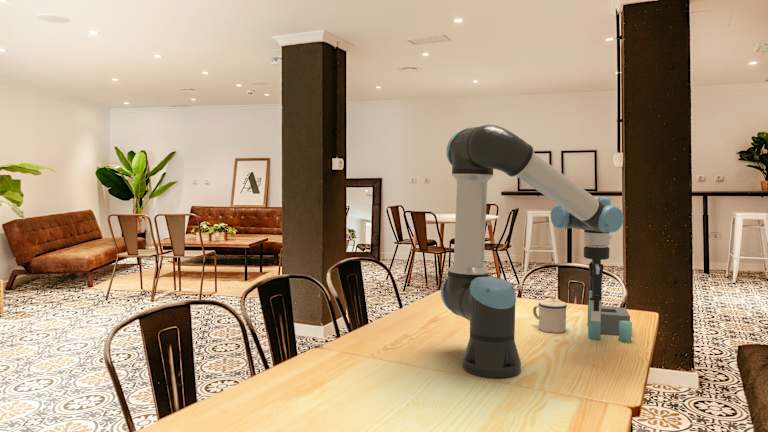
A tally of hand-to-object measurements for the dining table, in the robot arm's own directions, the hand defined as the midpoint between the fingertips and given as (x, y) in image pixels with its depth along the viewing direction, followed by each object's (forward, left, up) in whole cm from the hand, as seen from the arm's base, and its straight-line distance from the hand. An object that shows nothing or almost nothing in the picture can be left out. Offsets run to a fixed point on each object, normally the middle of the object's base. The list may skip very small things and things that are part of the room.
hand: (594, 317), depth 168 cm
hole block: (+12, -5, -7) cm, 15 cm away
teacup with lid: (+7, +14, -7) cm, 17 cm away
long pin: (0, 0, -7) cm, 7 cm away
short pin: (0, -9, -7) cm, 11 cm away
